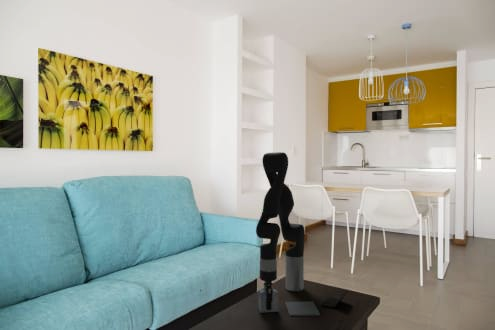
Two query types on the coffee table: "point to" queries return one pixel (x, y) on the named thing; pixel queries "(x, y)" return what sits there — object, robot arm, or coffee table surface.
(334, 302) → the handheld gaming console
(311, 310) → the rubber mat
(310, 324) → the coffee table surface
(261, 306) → the medicine box
